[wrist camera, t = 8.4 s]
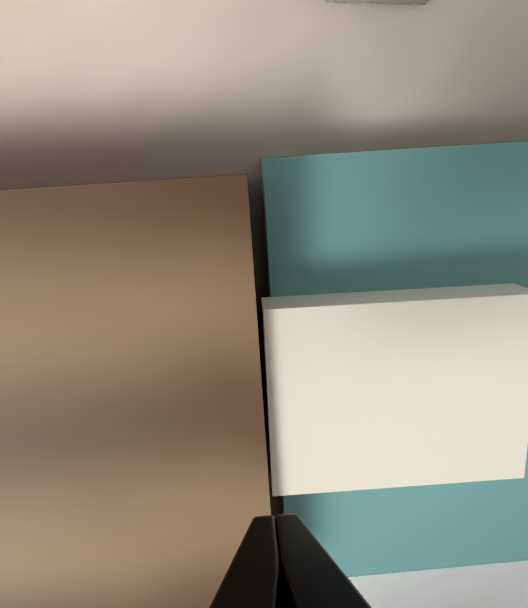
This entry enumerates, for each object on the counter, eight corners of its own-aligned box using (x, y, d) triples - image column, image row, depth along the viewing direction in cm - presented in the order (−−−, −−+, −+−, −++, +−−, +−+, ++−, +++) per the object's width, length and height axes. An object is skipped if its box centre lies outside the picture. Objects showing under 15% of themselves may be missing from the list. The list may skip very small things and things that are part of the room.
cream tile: (497, 451, 16) (523, 477, 14) (269, 467, 15) (272, 496, 14) (512, 283, 14) (543, 293, 13) (260, 297, 14) (263, 309, 12)
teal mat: (560, 535, 18) (578, 555, 17) (285, 561, 18) (288, 582, 17) (606, 138, 14) (632, 134, 13) (260, 160, 14) (261, 157, 13)
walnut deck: (272, 551, 17) (278, 623, 14) (-43, 580, 17) (-101, 660, 14) (245, 177, 14) (247, 173, 11) (-149, 203, 14) (-255, 206, 11)
